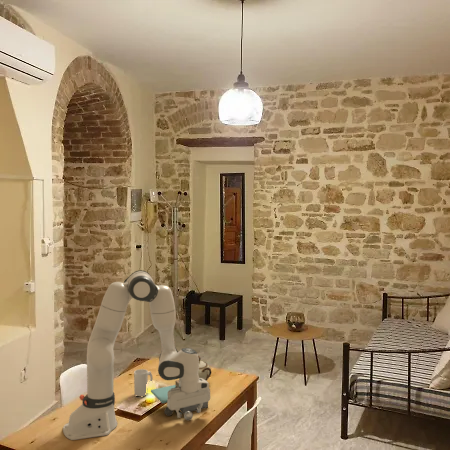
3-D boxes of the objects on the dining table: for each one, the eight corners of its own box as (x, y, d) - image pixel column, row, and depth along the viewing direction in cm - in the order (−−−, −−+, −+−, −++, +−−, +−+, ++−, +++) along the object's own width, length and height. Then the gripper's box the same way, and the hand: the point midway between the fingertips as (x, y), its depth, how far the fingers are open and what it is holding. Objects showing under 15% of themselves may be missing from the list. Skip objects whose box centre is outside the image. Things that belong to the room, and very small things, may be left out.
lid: (162, 403, 216) (162, 394, 216) (150, 391, 228) (151, 383, 228) (190, 397, 223) (190, 388, 223) (178, 386, 235) (178, 378, 235)
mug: (138, 399, 237) (138, 375, 236) (131, 394, 242) (131, 371, 241) (155, 393, 243) (156, 370, 242) (148, 389, 248) (149, 366, 247)
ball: (166, 418, 217) (166, 409, 217) (163, 414, 221) (163, 406, 221) (174, 416, 219) (174, 407, 219) (171, 412, 223) (171, 404, 223)
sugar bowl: (220, 383, 257) (220, 356, 256) (201, 392, 245) (201, 363, 244) (193, 374, 270) (193, 348, 268) (174, 382, 258) (174, 354, 257)
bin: (183, 413, 222) (183, 398, 222) (171, 402, 233) (171, 388, 233) (208, 407, 229) (208, 393, 228) (195, 397, 240) (195, 383, 239)
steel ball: (186, 422, 214) (186, 414, 213) (182, 419, 217) (182, 410, 217) (194, 420, 216) (194, 412, 215) (190, 417, 219) (190, 408, 219)
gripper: (170, 392, 207) (170, 423, 208) (212, 382, 218) (212, 412, 219) (164, 386, 213) (164, 417, 214) (205, 377, 223) (205, 406, 224)
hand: (189, 414), depth 216 cm, fingers open, 8 cm apart
